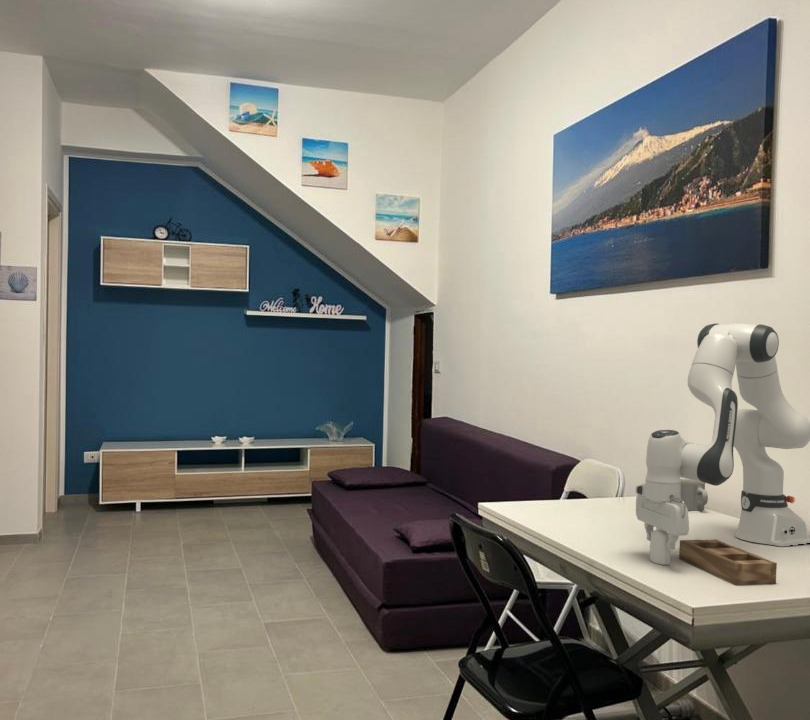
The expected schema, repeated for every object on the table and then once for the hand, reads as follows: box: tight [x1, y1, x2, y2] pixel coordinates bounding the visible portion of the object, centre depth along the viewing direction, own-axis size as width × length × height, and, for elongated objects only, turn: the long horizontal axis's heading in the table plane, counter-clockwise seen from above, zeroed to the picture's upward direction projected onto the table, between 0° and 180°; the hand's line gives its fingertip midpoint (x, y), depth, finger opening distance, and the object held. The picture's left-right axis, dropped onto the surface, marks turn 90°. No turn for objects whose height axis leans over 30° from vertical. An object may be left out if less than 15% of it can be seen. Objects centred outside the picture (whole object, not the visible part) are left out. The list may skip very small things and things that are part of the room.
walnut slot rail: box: [678, 539, 778, 586], centre depth 200 cm, size 11×24×5 cm, turn 13°
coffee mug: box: [680, 478, 709, 512], centre depth 282 cm, size 13×10×10 cm
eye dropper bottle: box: [649, 527, 672, 566], centre depth 206 cm, size 4×6×12 cm
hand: (660, 545), depth 206 cm, fingers open, 8 cm apart
